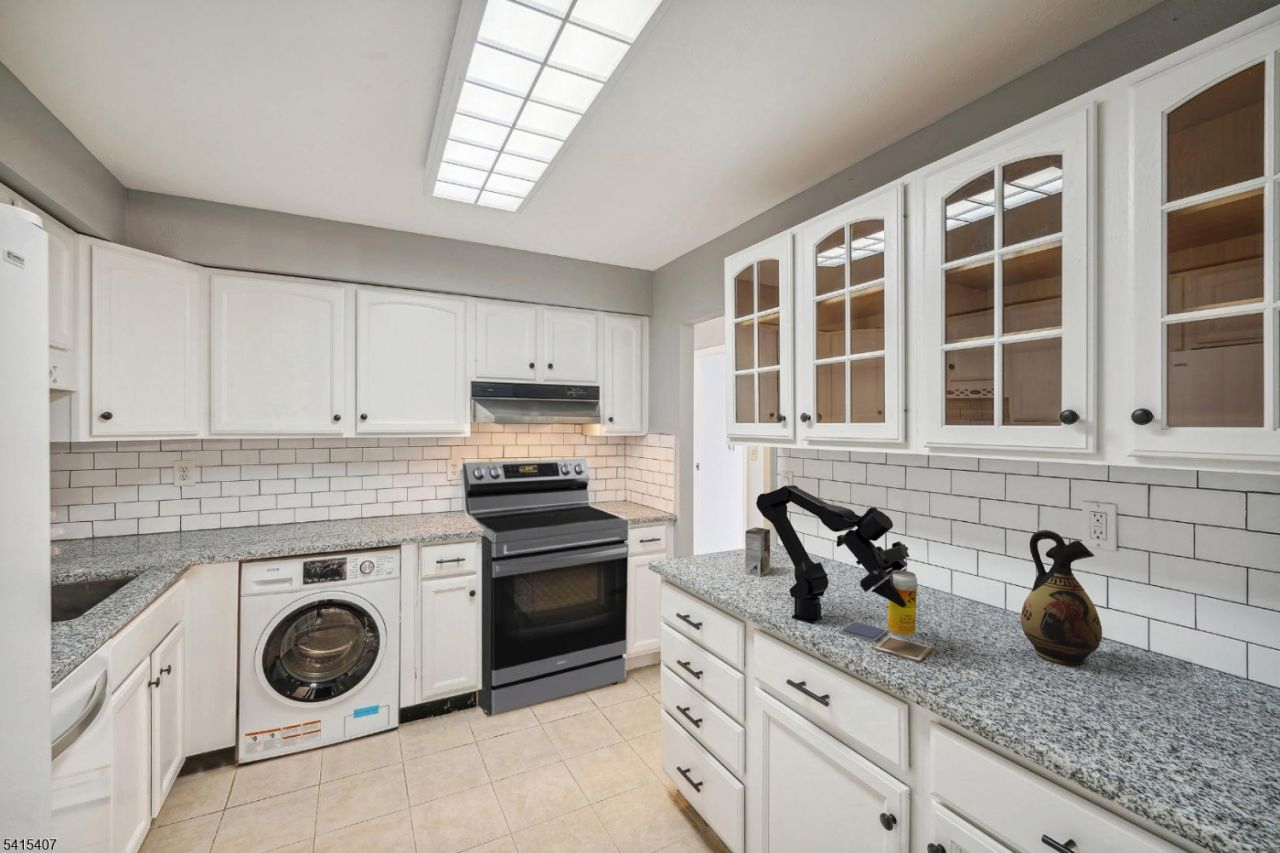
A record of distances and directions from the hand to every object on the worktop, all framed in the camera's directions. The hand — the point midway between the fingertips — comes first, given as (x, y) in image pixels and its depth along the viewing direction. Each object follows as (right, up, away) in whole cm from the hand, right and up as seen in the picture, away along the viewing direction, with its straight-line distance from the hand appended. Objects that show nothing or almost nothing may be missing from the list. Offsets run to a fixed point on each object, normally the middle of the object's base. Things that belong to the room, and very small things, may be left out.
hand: (909, 603), depth 134 cm
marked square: (-1, -12, +1) cm, 12 cm away
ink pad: (-7, -11, +11) cm, 17 cm away
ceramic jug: (+34, -12, -2) cm, 36 cm away
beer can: (-1, -8, +1) cm, 8 cm away
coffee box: (-22, -11, +69) cm, 73 cm away
